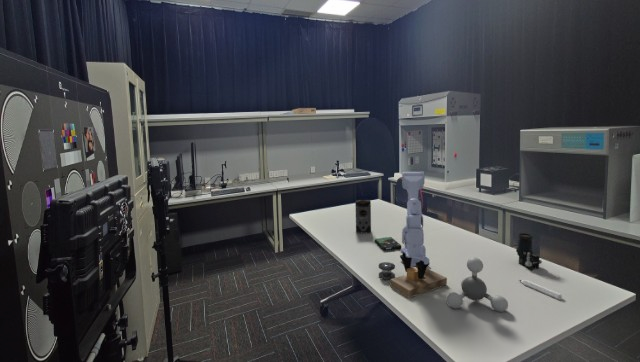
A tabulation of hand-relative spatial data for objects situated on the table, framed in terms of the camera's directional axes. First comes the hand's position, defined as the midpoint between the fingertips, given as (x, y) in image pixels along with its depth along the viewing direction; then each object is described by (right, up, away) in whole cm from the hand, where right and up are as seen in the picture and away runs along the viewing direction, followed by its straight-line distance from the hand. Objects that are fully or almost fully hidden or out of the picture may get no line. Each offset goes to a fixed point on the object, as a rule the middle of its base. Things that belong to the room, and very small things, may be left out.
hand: (414, 274), depth 136 cm
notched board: (+1, -4, -2) cm, 4 cm away
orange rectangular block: (0, -4, 0) cm, 4 cm away
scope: (+55, 0, +14) cm, 57 cm away
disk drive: (-2, +2, +45) cm, 45 cm away
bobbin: (-10, -3, +8) cm, 13 cm away
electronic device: (-12, +7, +70) cm, 72 cm away
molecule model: (+19, -6, -17) cm, 26 cm away
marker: (+46, -4, -9) cm, 47 cm away
